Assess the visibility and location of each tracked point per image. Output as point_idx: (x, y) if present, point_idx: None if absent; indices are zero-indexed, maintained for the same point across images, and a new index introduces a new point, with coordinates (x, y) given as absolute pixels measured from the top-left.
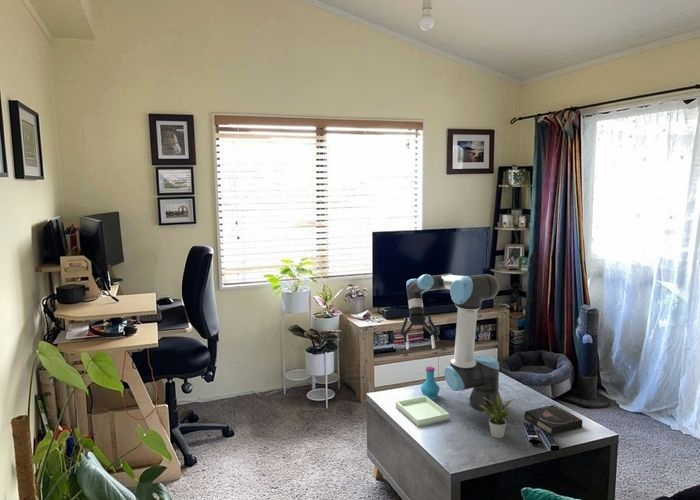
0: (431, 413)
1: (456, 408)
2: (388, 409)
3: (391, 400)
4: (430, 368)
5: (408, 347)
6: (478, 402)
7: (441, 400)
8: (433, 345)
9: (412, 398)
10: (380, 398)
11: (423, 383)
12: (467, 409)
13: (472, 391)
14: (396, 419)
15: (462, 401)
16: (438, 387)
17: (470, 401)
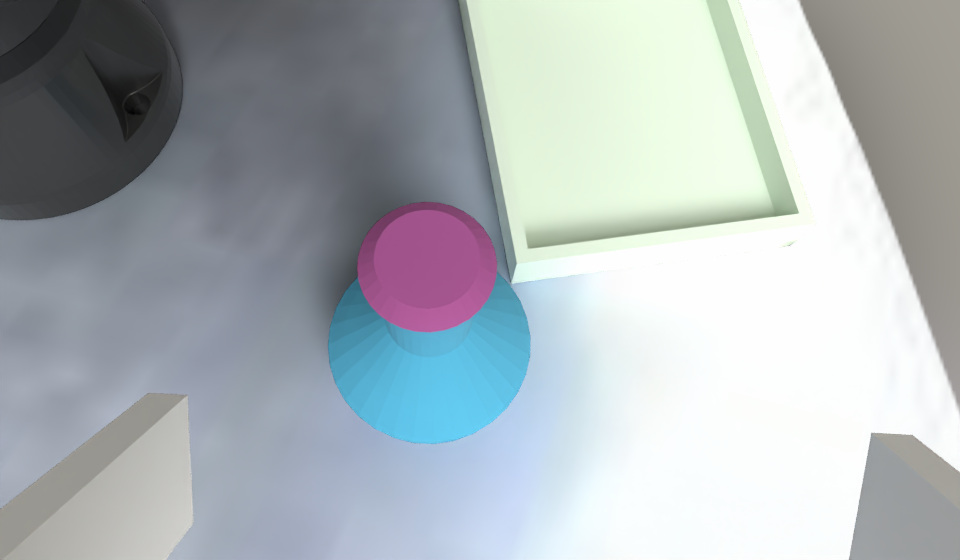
0: (550, 52)
1: (313, 103)
2: (854, 229)
3: (806, 385)
4: (433, 234)
5: (897, 439)
6: (137, 2)
7: None
8: (161, 429)
9: (654, 238)
10: None
11: (495, 371)
12: (239, 68)
13: (95, 70)
14: (815, 72)
15: (196, 198)
16: (355, 286)
17: (166, 91)
